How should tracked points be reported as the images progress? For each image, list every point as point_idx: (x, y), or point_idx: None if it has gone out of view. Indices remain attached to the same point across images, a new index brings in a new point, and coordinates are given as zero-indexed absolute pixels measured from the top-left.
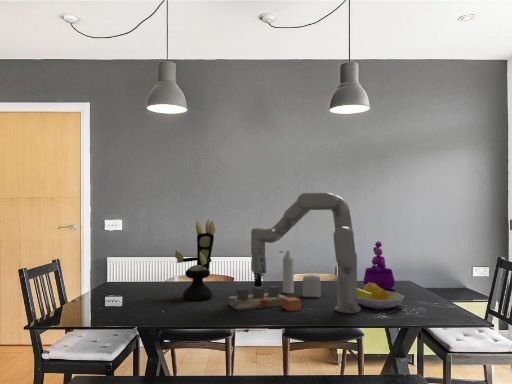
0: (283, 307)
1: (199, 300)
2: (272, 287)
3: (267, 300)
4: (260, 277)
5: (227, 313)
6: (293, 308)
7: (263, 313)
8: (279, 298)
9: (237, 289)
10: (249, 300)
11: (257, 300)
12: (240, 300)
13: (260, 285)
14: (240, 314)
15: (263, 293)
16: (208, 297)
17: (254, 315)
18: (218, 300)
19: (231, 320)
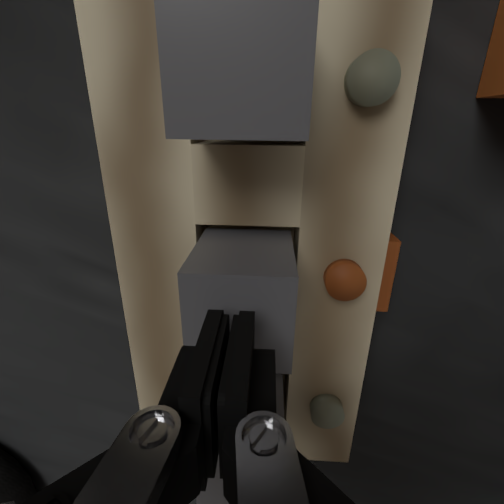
0: (490, 97)
1: (36, 492)
2: (301, 118)
3: (397, 242)
4: (321, 490)
5: (360, 471)
6: None
7: (501, 319)
8: (417, 80)
9: (207, 502)
10: (333, 385)
11: (370, 334)
12: (296, 432)
13: (254, 327)
14: (423, 432)
15: (293, 254)
16: (10, 467)
17: (500, 383)
18: (41, 415)
19: (496, 498)
